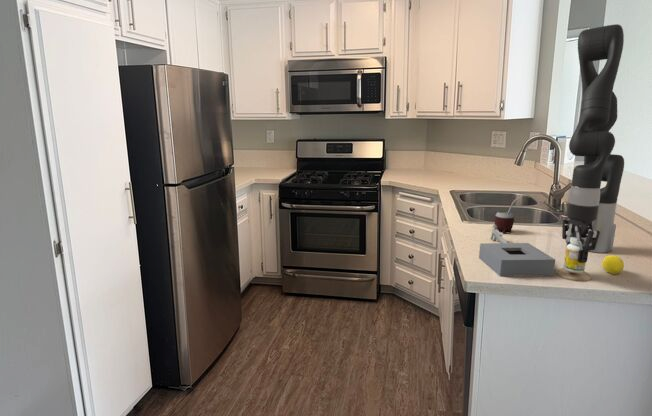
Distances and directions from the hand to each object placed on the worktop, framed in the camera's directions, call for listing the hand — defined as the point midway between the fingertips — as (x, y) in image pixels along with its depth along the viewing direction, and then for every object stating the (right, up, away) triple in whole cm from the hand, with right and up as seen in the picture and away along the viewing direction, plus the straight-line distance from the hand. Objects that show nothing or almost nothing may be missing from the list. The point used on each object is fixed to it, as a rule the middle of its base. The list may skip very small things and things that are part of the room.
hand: (575, 258), depth 126 cm
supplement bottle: (0, -4, +1) cm, 4 cm away
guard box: (-14, -3, +8) cm, 17 cm away
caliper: (-10, 0, +27) cm, 29 cm away
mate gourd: (-2, +5, +46) cm, 46 cm away
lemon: (+13, -5, +4) cm, 14 cm away
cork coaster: (0, -5, +1) cm, 5 cm away
